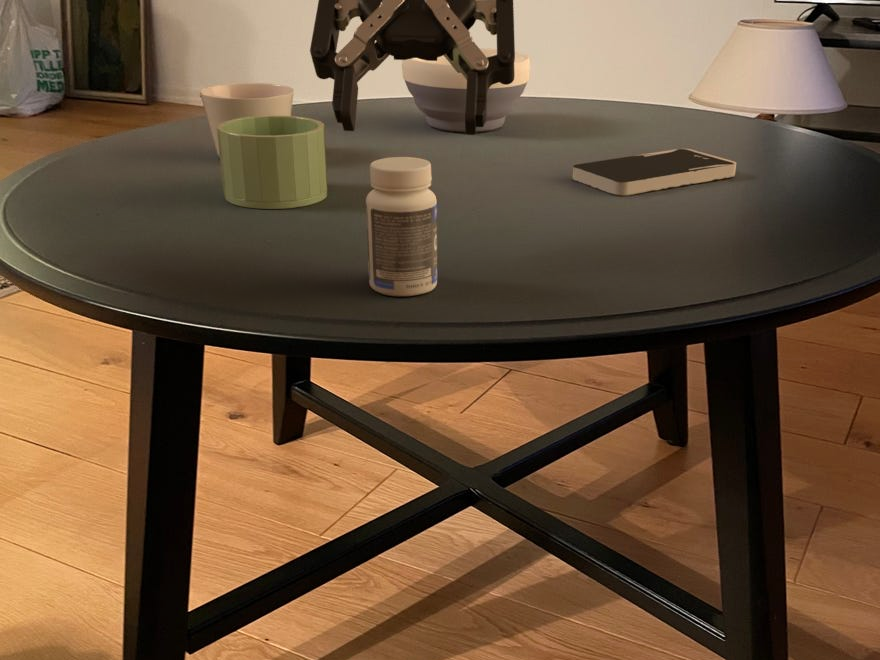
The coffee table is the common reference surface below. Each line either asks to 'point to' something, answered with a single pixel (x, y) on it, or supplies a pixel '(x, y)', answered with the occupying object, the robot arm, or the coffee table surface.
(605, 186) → the smartphone
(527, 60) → the bowl
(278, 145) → the cup
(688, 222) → the coffee table surface
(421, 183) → the pill bottle
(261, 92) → the beige tapered pot
